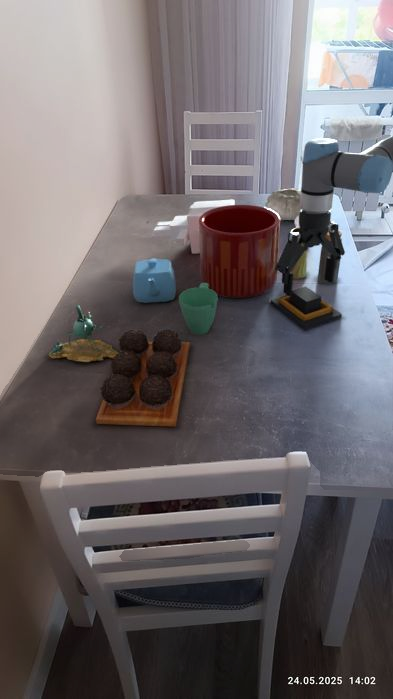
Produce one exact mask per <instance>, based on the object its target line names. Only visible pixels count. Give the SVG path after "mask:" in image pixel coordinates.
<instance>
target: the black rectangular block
mask: <svg viewBox="0 0 393 699" xmlns="http://www.w3.org/2000/svg"><path fill="white" fill-rule="evenodd" d="M321 300H323V297H322V296H321V295H319V294H318V293H316V292H315V291H314V290H312V289H311V288H309V287H308V286H302V287H298V288H295V289H292V296H290V304H291V305H293V306H294V307H296V308H297V309H298V310H300V311H301V312H302V313H304V314H305V315H306V314H309V313H312V312H315V311H318V310H320V307H321Z"/></svg>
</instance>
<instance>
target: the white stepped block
mask: <svg viewBox="0 0 393 699" xmlns="http://www.w3.org/2000/svg"><path fill="white" fill-rule="evenodd" d="M228 205H235V199H220V200H203V201H202V200H201V201H200V200H199V201H194V202H193V204H191V205H190V207H189V211H188V213H187V214H186V215H175V216H174V218H173V219H172V220H171V221H158V222H157V224H156V226H155V227H154V229H153V236H154V237H155V238H157V237H159V238H160V237H171V238H170V239H171V242H176V244H177V246H178V247H179V246H185V245H186V243H187V242H188V241H189V242H190V251H191V254H200V246H199V218H200V216H201V215H202V214H203V213H205V212H207V211H209V210H211V209H214V208H217V207H222V206H228Z"/></svg>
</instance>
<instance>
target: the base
mask: <svg viewBox="0 0 393 699" xmlns="http://www.w3.org/2000/svg"><path fill="white" fill-rule="evenodd" d="M269 304H270V305H272V307H274V308H276V309H277V310H279V311H280V312H281V313H282V314H283V315H285V317H287V318H288V319H290V320H291V321H292V322H294V324H296V325H297V326H299V327H300V328H302V329H303V330H304V331H307V330H310V329H313V328H315V327H318V326H319V327H320V326H322V325H324V324H327V323H331V322H333V321H336V320H339V319H342V316H343V314H342V313H341V312H339V311H338V310H337V309H335V308H334V307H333V306H332V305H330V304H329V303H327V302H326V301H324V300H323V299H321V307H320V310H318V311H315V312H312V313H309V314H306V315H305V314H304V313H302V312H301V311H300V310H298V309H297V308H296V307H294V306H293V305H291V304H290V296H288V295H286V294H285V295H282V296H278V297H274V298H272V299H270V302H269Z"/></svg>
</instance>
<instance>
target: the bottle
mask: <svg viewBox="0 0 393 699" xmlns="http://www.w3.org/2000/svg"><path fill="white" fill-rule="evenodd" d="M338 232H339V236H340V239H341V242H342V243H343V239H342V235H343V233H342V231H341V230H338ZM326 238H327V239H328V240H329V243H330V244H331V245H332V247H333V244H332V241H331V238H330V235H329V231H328V233H327V234H326ZM333 248H334V247H333ZM327 257H331V256H330V255H329V254H328V253H327V251H326V250H325V249H324V248H323V246H322V245H321V247H320V255H319V264H318V274H317V281H318V282H319V283H321V284H325V285H332V284H333V285H334V284H336V283H337V282H338V278H339V271H340V264H341V259H340V260H337V267H336V269H335V271H334V279H333V283H330V282H328V281H326V280H325V279H324V278H325V269H326V260H327Z"/></svg>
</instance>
